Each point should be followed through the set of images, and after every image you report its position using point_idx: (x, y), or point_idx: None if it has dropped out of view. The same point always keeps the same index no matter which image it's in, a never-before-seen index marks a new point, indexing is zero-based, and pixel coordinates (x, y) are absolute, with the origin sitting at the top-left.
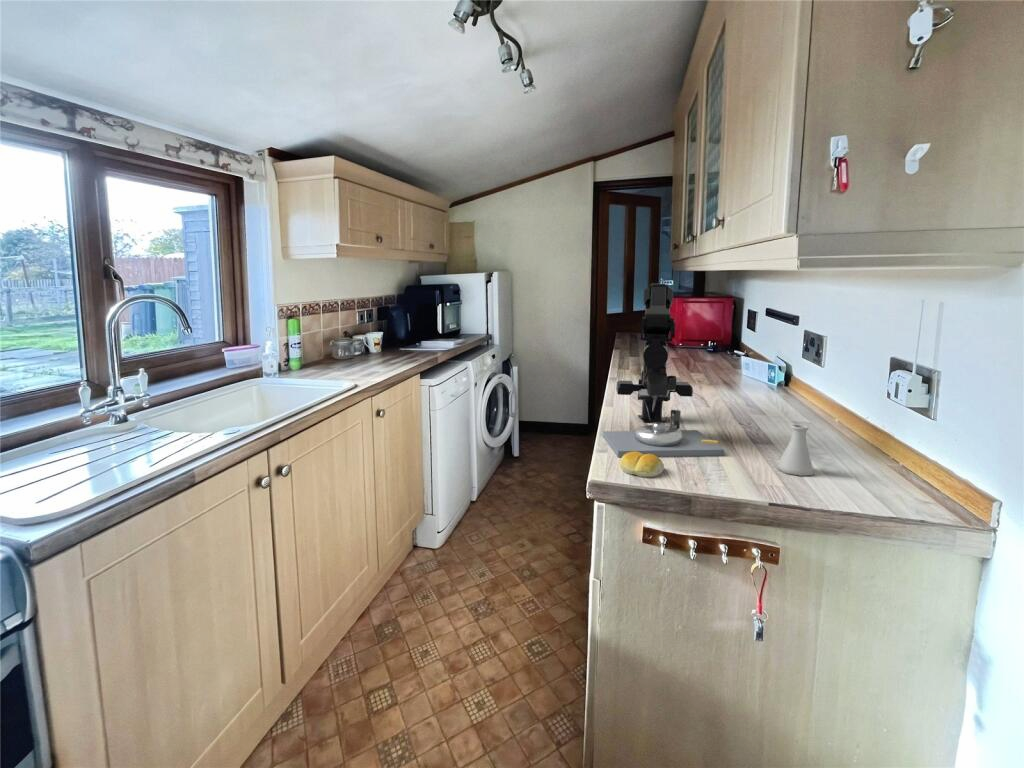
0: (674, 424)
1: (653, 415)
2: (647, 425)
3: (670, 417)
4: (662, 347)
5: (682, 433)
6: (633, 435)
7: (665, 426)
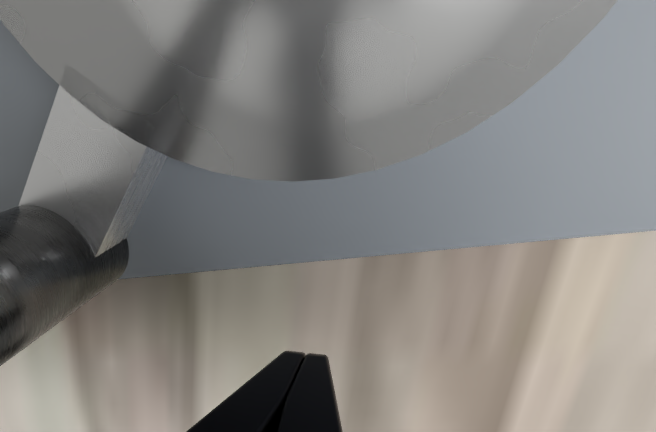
0: (36, 210)
1: (267, 395)
2: (405, 152)
3: (26, 316)
4: None
5: None
6: (622, 20)
7: (144, 126)
